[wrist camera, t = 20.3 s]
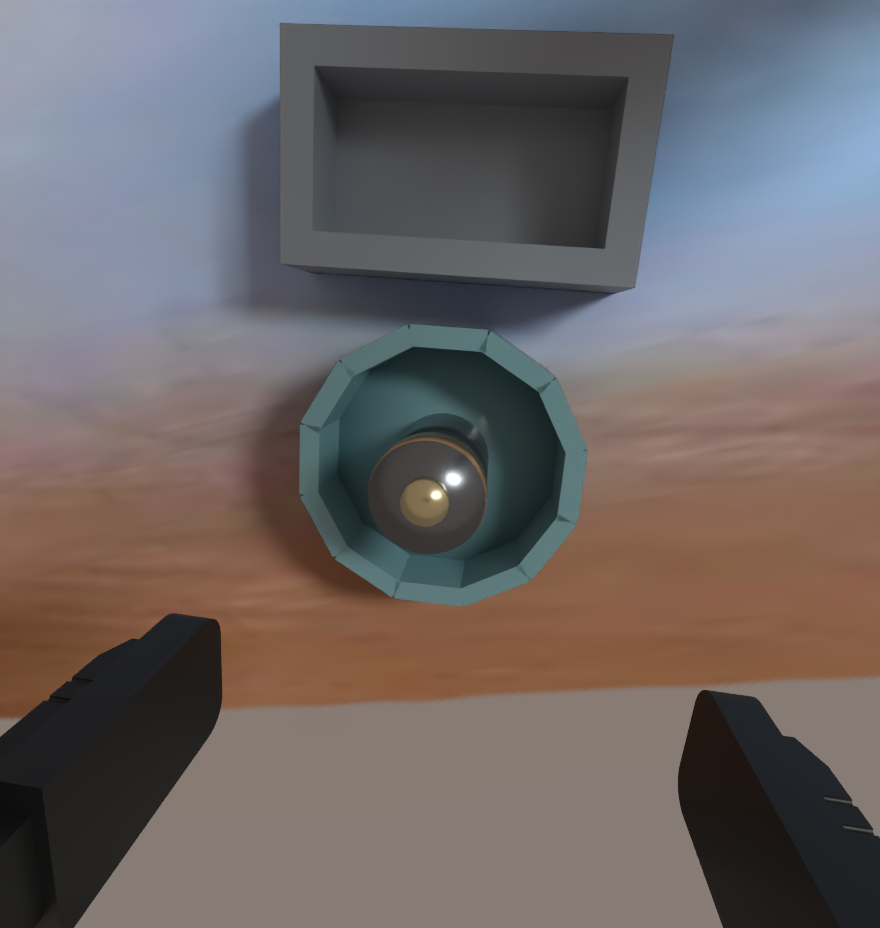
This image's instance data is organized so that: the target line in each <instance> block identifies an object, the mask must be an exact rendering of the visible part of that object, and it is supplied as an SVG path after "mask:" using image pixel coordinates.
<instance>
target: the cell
mask: <svg viewBox="0 0 880 928" xmlns="http://www.w3.org/2000/svg"><path fill="white" fill-rule="evenodd" d="M488 462H489V455H488V448H487V445H486V442H485V440H484V438H483V436H482V434H481V433H480V431H479V430H478V429H477V428H476V427H475V426H474V425H473V424H472V423H470V422H469V421H468V420H466V419H464V418H462V417H460V416H457V415H454V414H448V413H437V414H432V415H428V416H426V417H423V418H421V419H419V420H418V421H416V422H415V423H414V424H413V425H412V426H411V427H410V428H409V429H408V430H407V431H406V432H405V433H404V435H403V436H402V437H401V438H400V439H399V440H398V442H397V443H396V444H395V445H393V446H392V447H391V448H390V449H389V450H388V451H387V453H386V454H385V455H384V456H383V457H382V458H381V460H380V461H379V462H378V464H377V465H376V467H375V469H374V470H373V472H372V475H371V478H370V482H369V486H368V503H369V508H370V512H371V515H372V517H373V520H374V522H375V524H376V525H377V527H378V528H379V530H380V531H381V532H382V533H383V534H384V535H385V536H386V537H387V538H388V539H389V540H390V541H391V542H393V543H394V544H395V545H397V546H399V547H401V548H403V549H405V550H408V551H411V552H414V553H419V554H439V553H444V552H447V551H450V550H453V549H455V548H457V547H459V546H460V545H462V544H463V543H465V542H466V541H467V540H468V539H469V538H470V537H471V536H472V535H473V534H474V533H475V532H476V530H477V529H478V527H479V526H480V524H481V522H482V520H483V517H484V514H485V510H486V504H487V475H488Z"/></svg>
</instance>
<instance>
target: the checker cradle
mask: <svg viewBox="0 0 880 928" xmlns="http://www.w3.org/2000/svg"><path fill="white" fill-rule="evenodd" d="M673 38H674V35H668V34H634V33H600V32H566V31H531V30H497V29H463V28H429V27H395V26H360V25H326V24H292V23H280V264H283V265H286V266H290V267H293V268H297V269H300V270H304V271H307V272H311V273H321V274H336V275H350V276H365V277H379V278H394V279H408V280H423V281H437V282H452V283H467V284H481V285H496V286H510V287H525V288H539V289H554V290H568V291H583V292H598V293H612V294H615V293H618V292H622V291H625V290H629V289H632V288H635V284H636V278H637V271H638V265H639V258H640V252H641V245H642V239H643V232H644V226H645V219H646V213H647V206H648V200H649V193H650V187H651V180H652V174H653V167H654V161H655V154H656V148H657V141H658V135H659V128H660V122H661V115H662V109H663V102H664V96H665V90H666V83H667V77H668V70H669V64H670V57H671V51H672V44H673Z"/></svg>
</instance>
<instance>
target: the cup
mask: <svg viewBox="0 0 880 928" xmlns="http://www.w3.org/2000/svg"><path fill="white" fill-rule="evenodd" d="M437 413H448V414H454V415H457V416H460V417H462V418H464V419H466V420H468V421H469V422H470V423H472V424H473V425H474V426H475V427H476V428H477V429H478V430H479V431H480V433H481V434H482V436H483V438H484V440H485V442H486V445H487V448H488V455H489V462H488V475H487V504H486V510H485V514H484V517H483V520H482V522H481V524H480V526H479V527H478V529H477V530H476V532H475V533H474V534H473V535H472V536H471V537H470V538H469V539H468V540H467V541H466V542H465V543H463V544H462V545H460V546H459V547H457V548H455V549H453V550H450V551H447V552H444V553H439V554H419V553H414V552H411V551H408V550H405V549H403V548H401V547H399V546H397V545H395V544H394V543H393V542H391V541H390V540H389V539H388V538H387V537H386V536H385V535H384V534H383V533H382V532H381V531H380V530H379V528H378V527H377V525H376V524H375V522H374V520H373V517H372V515H371V512H370V508H369V503H368V486H369V482H370V478H371V475H372V472H373V470H374V469H375V467H376V465H377V464H378V462H379V461H380V460H381V458H382V457H383V456H384V455H385V454H386V453H387V451H388V450H389V449H390V448H391V447H392V446H393V445H395V444H396V443H397V442H398V440H399V439H400V438H401V437H402V436H403V435H404V433H405V432H406V431H407V430H408V429H409V428H410V427H411V426H412V425H413V424H414V423H415V422H416V421H418V420H419V419H421V418H423V417H426V416H428V415H432V414H437ZM301 423H302V424H300V457H299V494H303V495H301V496H300V498H301V500H302V502H303V503H304V505H305V507H306V509H307V511H308V513H309V514H310V516H311V518H312V520H313V522H314V524H315V525H316V527H317V529H318V531H319V533H320V535H321V536H322V538H323V540H324V542H325V544H326V546H327V547H328V549H329V551H330V553H331V555H332V557H334V556H337V557H336V558H335V560H337V561H338V562H340V563H341V564H343V565H344V566H346V567H347V568H349V569H350V570H352V571H353V572H355V573H356V574H358V575H359V576H361V577H362V578H364V579H365V580H367V581H368V582H370V583H371V584H373V585H374V586H376V587H377V588H379V589H380V590H382V591H383V592H384V593H386V594H387V595H389V596H390V597H392V596H393V595H394V594H395V597H394V598H396V599H404V600H412V601H421V602H429V603H438V604H446V605H455V606H463V602H464V604H465V606H467V605H470V604H472V603H475V602H477V601H480V600H483V599H485V598H488V597H490V596H493V595H496V594H498V593H501V592H503V591H506V590H509V589H511V588H514V587H516V586H519V585H522V584H524V583H527V582H529V581H530V580H529V578H530V579H533V578H534V577H535V575H536V574H537V573H538V572H539V571H540V569H541V568H542V567H543V566H544V564H545V563H546V562H547V561H548V560H549V558H550V557H551V556H552V555H553V553H554V552H555V551H556V550H557V549H558V547H559V546H560V545H561V544H562V543H563V541H564V540H565V539H566V538H567V536H568V535H569V534H570V533H571V532H572V530H573V529H574V528H575V527H576V524H575V523H578V516H579V509H580V502H581V495H582V488H583V481H584V474H585V467H586V460H587V453H588V451H587V450H586V449H587V446H586V444H585V442H584V440H583V437H582V435H581V433H580V430H579V428H578V426H577V423H576V421H575V419H574V417H573V414H572V412H571V410H570V407H569V405H568V403H567V400H566V398H565V396H564V393H563V391H562V389H561V387H560V384H559V382H558V380H557V378H556V377H555V376H554V375H553V374H552V373H551V372H550V371H549V370H548V369H546V368H545V367H543V366H542V365H541V364H539V363H538V362H536V361H535V360H534V359H532V358H531V357H529V356H528V355H527V354H525V353H524V352H522V351H521V350H519V349H518V348H517V347H515V346H514V345H512V344H511V343H510V342H508V341H507V340H505V339H504V338H502V337H501V336H500V335H498V334H497V333H495V332H494V331H493V330H492V331H491V332H490V329H478V328H465V327H451V326H438V325H425V324H410V325H405V326H403V327H401V328H399V329H397V330H395V331H393V332H392V333H390V334H388V335H386V336H384V337H382V338H380V339H378V340H376V341H374V342H372V343H370V344H368V345H366V346H364V347H362V348H360V349H358V350H356V351H354V352H352V353H350V354H348V355H346V356H344V357H342V358H340V360H339V361H337V363H336V365H335V366H334V368H333V370H332V371H331V373H330V374H329V376H328V378H327V379H326V381H325V383H324V384H323V386H322V388H321V389H320V391H319V392H318V394H317V396H316V397H315V399H314V401H313V402H312V404H311V406H310V407H309V409H308V411H307V412H306V414H305V415H304V417H303V419H302V420H301Z"/></svg>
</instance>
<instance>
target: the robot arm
mask: <svg viewBox="0 0 880 928" xmlns="http://www.w3.org/2000/svg"><path fill="white" fill-rule="evenodd" d="M221 703H222V667H221V632H220V626H219V623H218V622H217V620H215V619H210V618H203V617H196V616H189V615H182V614H175V613H172V614H169V615H167V616H166V617H164V618H163V619H162V620H161V621H160V622H158V623H157V624H156V625H155V626H154V627H153V628H152V629H151V630H149V631H148V632H147V633H146V634H145V635H144V636H143V637H141V638H140V639H139V640H138V639H131V640H128V641H126V642H124V643H122V644H120V645H118V646H116V647H114V648H112V649H110V650H108V651H106V652H104V653H102V654H100V655H98V656H97V657H96V658H95V659H94V660H92V661H91V662H90V663H89V664H87V665H86V666H85V667H84V668H83V669H81V670H80V671H79V672H78V673H77V674H75V675H74V676H73V678H72V681H71V682H68V681H67V682H66V683H65V684H63V685H62V686H61V687H60V688H59V689H57V690H56V691H55V692H54V693H53V694H51V695H50V698H49V700H48V701H43V702H42V703H40V704H39V705H38V706H37V707H36V708H34V709H33V710H32V711H31V712H30V713H28V714H27V715H26V716H25V717H24V718H22V719H21V720H20V721H19V722H18V723H16V724H15V725H14V726H13V727H12V728H11V729H9V730H8V731H7V732H6V733H4V734H3V735H2V736H1V737H0V928H74V927H75V925H76V924H77V922H78V921H79V920H80V918H81V917H82V915H83V914H84V913H85V911H86V910H87V908H88V907H89V905H90V904H91V903H92V901H93V900H94V898H95V897H96V896H97V894H98V893H99V891H100V890H101V889H102V887H103V886H104V884H105V883H106V881H107V880H108V879H109V877H110V876H111V874H112V873H113V871H114V870H115V869H116V867H117V866H118V864H119V863H120V862H121V860H122V859H123V857H124V856H125V855H126V853H127V852H128V850H129V849H130V847H131V846H132V845H133V843H134V842H135V840H136V839H137V838H138V836H139V834H140V833H141V832H142V831H143V829H144V828H145V826H146V825H147V823H148V822H149V821H150V819H151V818H152V816H153V815H154V814H155V812H156V811H157V809H158V808H159V806H160V805H161V804H162V802H163V801H164V799H165V798H166V797H167V795H168V794H169V792H170V791H171V790H172V788H173V787H174V785H175V784H176V782H177V781H178V780H179V778H180V777H181V775H182V774H183V772H184V771H185V770H186V768H187V767H188V765H189V764H190V763H191V761H192V760H193V758H194V757H195V756H196V754H197V753H198V751H199V750H200V749H201V747H202V746H203V744H204V743H205V741H206V740H207V739H208V737H209V735H210V734H211V732H212V730H213V729H214V726H215V724H216V721H217V719H218V716H219V712H220V708H221ZM678 794H679V801H680V806H681V811H682V814H683V817H684V820H685V822H686V825H687V828H688V831H689V834H690V836H691V839H692V842H693V845H694V848H695V850H696V853H697V856H698V859H699V861H700V864H701V867H702V870H703V873H704V876H705V878H706V881H707V884H708V887H709V890H710V892H711V895H712V898H713V901H714V903H715V906H716V909H717V912H718V914H719V917H720V920H721V923H722V926H723V928H880V838H879V836H874V834H873V828H872V827H871V825H870V824H869V822H868V821H867V820H866V818H865V817H864V816H863V814H862V813H861V811H860V810H859V809H858V807H856V806H853V805H852V799H851V798H850V796H849V795H848V794H847V792H846V791H845V789H844V788H843V786H842V785H841V784H840V783H839V781H838V780H837V778H836V777H835V775H834V774H833V773H832V771H831V770H830V768H829V767H828V766H827V765H826V764H825V763H823V762H822V761H821V760H820V759H819V758H817V757H816V756H815V755H814V754H813V753H812V752H811V751H809V750H808V749H807V748H806V747H804V745H802V744H801V743H800V742H799V741H798V740H797V739H795V738H794V737H787V736H783V735H782V734H781V732H780V731H779V729H778V728H777V726H776V725H775V723H774V722H773V721H772V719H771V718H770V716H769V715H768V713H767V711H766V710H765V709H764V707H763V705H762V704H761V703H760V701H759V700H758V699H756V698H755V697H751V696H744V695H736V694H729V693H722V692H716V691H709V690H702V691H701V692H700V693H699V694H698V696H697V699H696V701H695V705H694V710H693V714H692V717H691V722H690V726H689V730H688V734H687V738H686V742H685V746H684V750H683V754H682V758H681V763H680V767H679V773H678Z"/></svg>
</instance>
